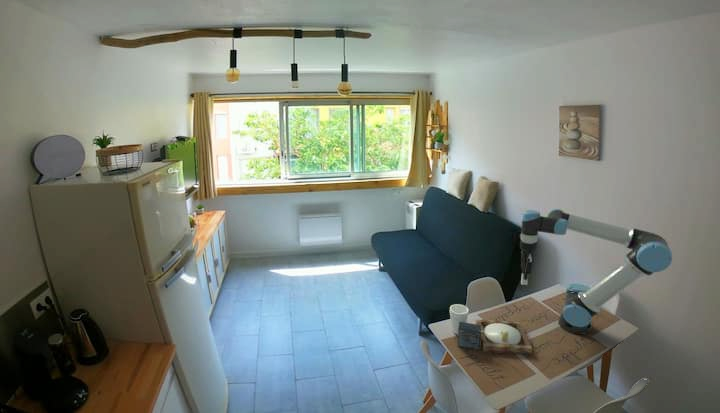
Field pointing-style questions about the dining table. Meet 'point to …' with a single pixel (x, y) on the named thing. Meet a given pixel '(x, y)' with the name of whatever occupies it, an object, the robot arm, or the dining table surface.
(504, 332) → the dial
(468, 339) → the small box
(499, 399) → the dining table surface
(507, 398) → the dining table surface
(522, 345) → the housing
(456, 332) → the foam cup
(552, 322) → the dining table surface
